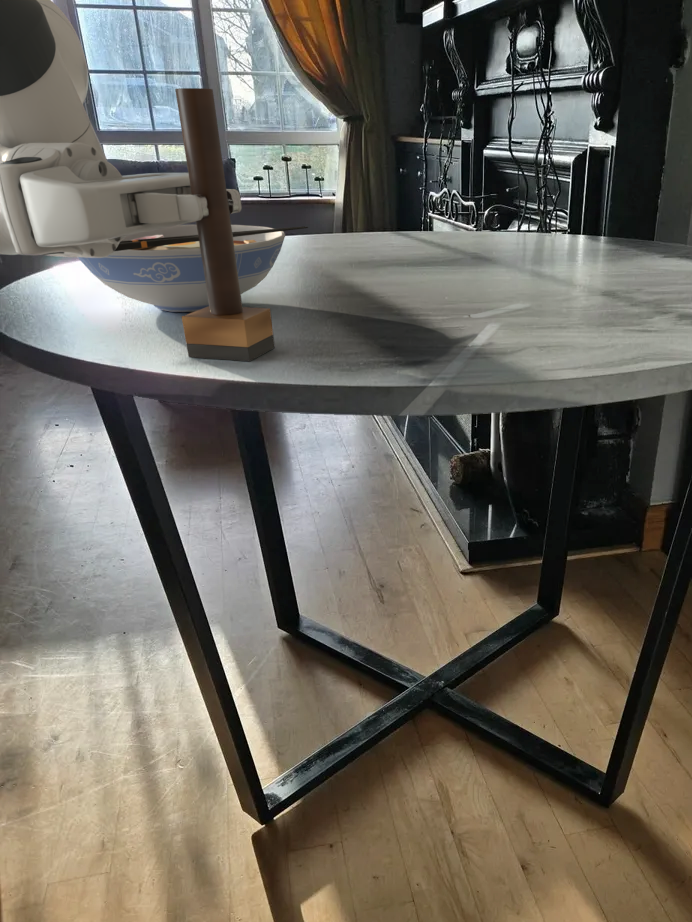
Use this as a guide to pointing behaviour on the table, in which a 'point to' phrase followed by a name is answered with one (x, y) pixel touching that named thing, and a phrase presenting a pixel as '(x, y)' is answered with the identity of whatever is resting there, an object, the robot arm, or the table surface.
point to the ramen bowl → (182, 264)
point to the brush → (216, 246)
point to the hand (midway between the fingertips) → (220, 204)
